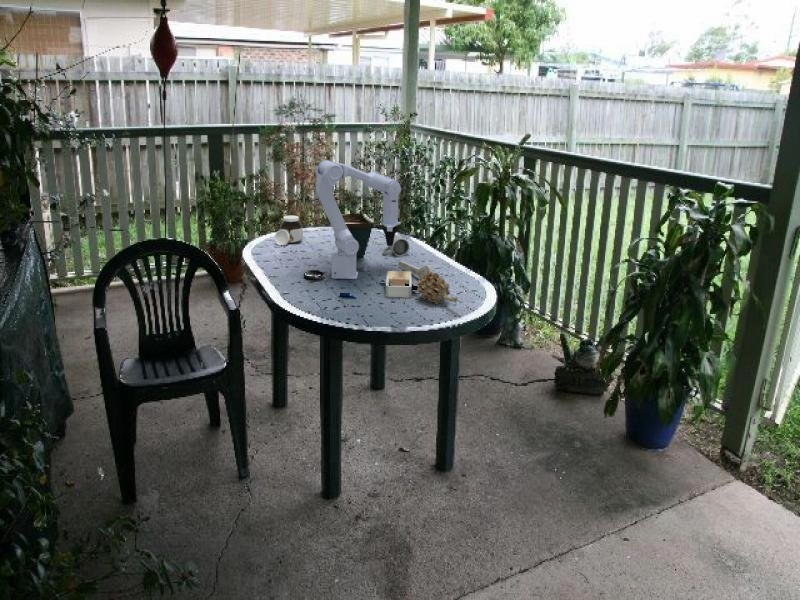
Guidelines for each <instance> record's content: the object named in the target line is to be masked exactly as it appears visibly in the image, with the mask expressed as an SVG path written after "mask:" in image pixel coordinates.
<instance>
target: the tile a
mask: <svg viewBox="0 0 800 600" xmlns="http://www.w3.org/2000/svg"><path fill="white" fill-rule="evenodd" d="M392 286H405V277H393V278H392Z"/></svg>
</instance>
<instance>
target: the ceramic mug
mask: <svg viewBox="0 0 800 600" xmlns="http://www.w3.org/2000/svg"><path fill="white" fill-rule="evenodd" d="M409 250H410V243H409V241H407V239H405V238H402V237H400V236H396V235H395V237H394V242H393V246H387V247H386V248H384V249H382V251H381V252H382V254H383V256H390V255H392V254H393V255H395V256H397V257H404V256H406V255H407V254H408V252H409Z"/></svg>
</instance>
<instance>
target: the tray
mask: <svg viewBox="0 0 800 600" xmlns="http://www.w3.org/2000/svg"><path fill="white" fill-rule="evenodd" d="M412 282H413V281H412V275H411V276H409V286H389V275H387V274H386V281H385V298H398V297H401V298H402V299H404V298H405V299H406V298H407V299H409V298H410V299H412Z"/></svg>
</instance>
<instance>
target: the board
mask: <svg viewBox="0 0 800 600" xmlns="http://www.w3.org/2000/svg"><path fill="white" fill-rule="evenodd" d="M386 272H387V274H386V276H387V275H389V283H392V278H393V277H405V283H406V284H409V276H411V277H412V273H411V271H405V270H403V271H401V270H387V271H386Z"/></svg>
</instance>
